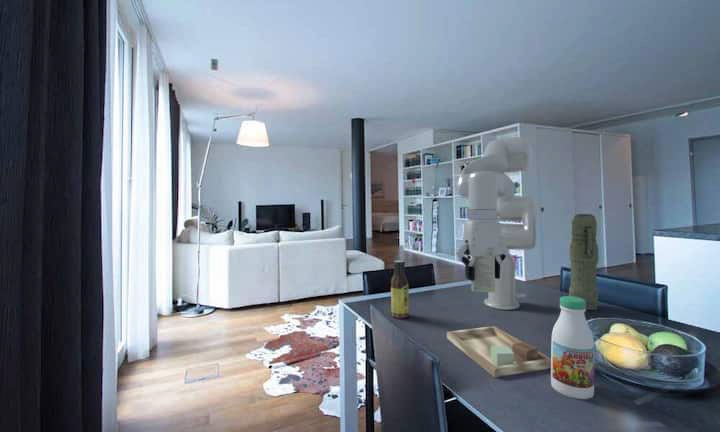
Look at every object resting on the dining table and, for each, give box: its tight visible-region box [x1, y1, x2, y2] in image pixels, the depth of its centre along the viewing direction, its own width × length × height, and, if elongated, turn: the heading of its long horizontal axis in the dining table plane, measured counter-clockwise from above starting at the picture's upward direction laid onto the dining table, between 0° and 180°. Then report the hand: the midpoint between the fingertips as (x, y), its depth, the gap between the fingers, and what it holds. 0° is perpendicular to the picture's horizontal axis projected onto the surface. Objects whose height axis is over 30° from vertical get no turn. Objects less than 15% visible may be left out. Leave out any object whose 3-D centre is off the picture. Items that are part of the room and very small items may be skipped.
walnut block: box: [512, 341, 539, 363], centre depth 80 cm, size 4×4×4 cm
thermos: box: [568, 213, 599, 311], centre depth 121 cm, size 9×12×35 cm
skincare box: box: [470, 248, 495, 293], centre depth 91 cm, size 6×4×12 cm
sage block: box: [491, 346, 514, 366], centre depth 79 cm, size 4×4×4 cm
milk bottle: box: [550, 295, 595, 400], centre depth 69 cm, size 8×8×20 cm
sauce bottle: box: [390, 259, 410, 319], centre depth 116 cm, size 6×6×20 cm
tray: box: [446, 325, 551, 378], centre depth 86 cm, size 16×22×2 cm
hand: (482, 278), depth 91 cm, fingers closed on skincare box, 7 cm apart
